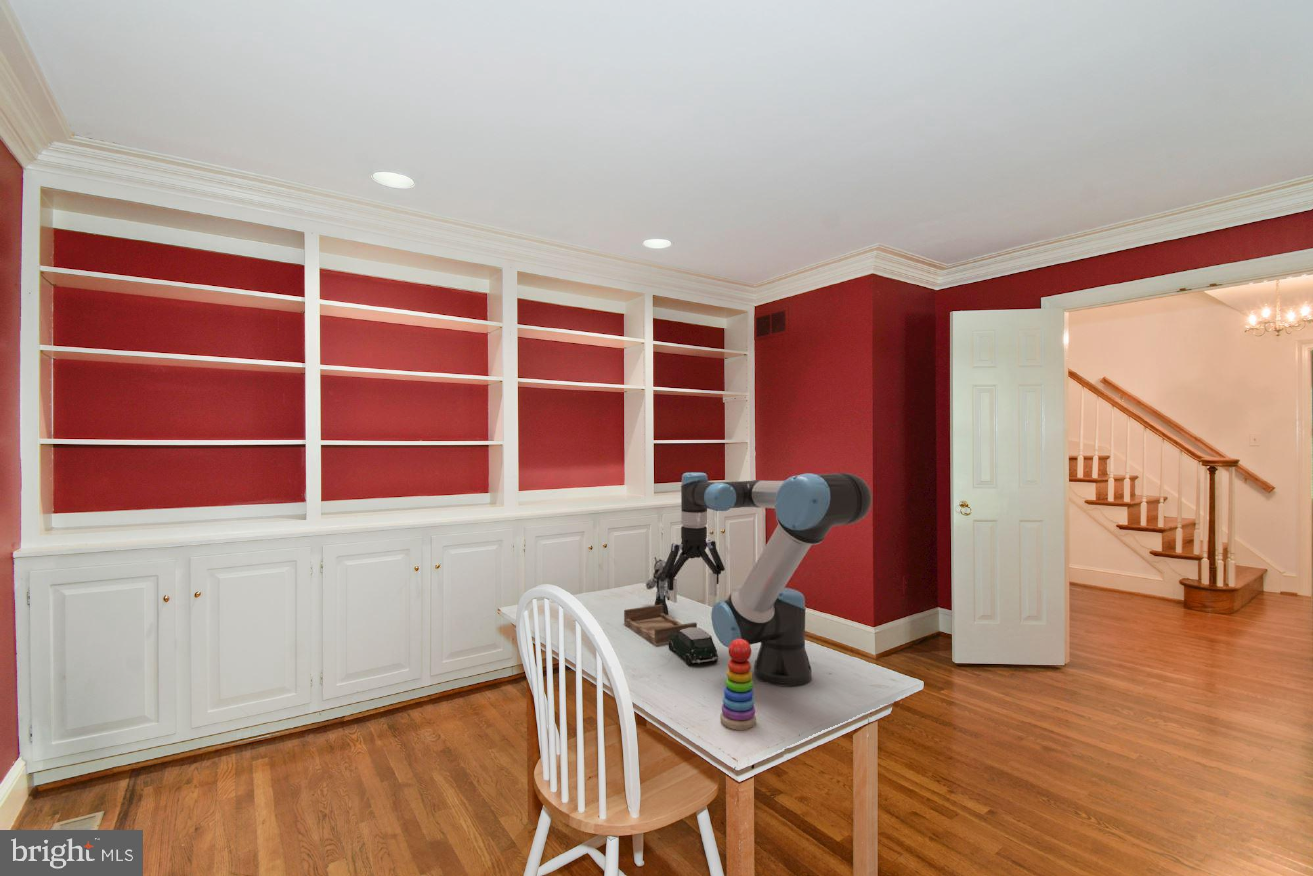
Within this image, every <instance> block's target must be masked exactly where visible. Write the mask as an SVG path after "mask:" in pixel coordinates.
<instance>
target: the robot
mask: <svg viewBox="0 0 1313 876" xmlns="http://www.w3.org/2000/svg"><path fill="white" fill-rule="evenodd" d="M654 562H655V563H654V565H653V570H654V573H653V577H651V578H650V579H648V581H647V582H646V585H645V587H646V589H647V590H652V589H654V588H655V587H656V594H655V595H656V596H655V601H654V605H661V604H662V605H663V613H664V614H665V615H667V616H669V608H668V605H667V601H668V602H669V601H670V590H668V588H667V578H665V577H663V576H661V573H662V571H663V568H664V566H665V564H666V561H665V560H663V559H661V558H659V560H657V557H656V556H654Z"/></svg>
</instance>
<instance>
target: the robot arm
mask: <svg viewBox="0 0 1313 876" xmlns="http://www.w3.org/2000/svg"><path fill="white" fill-rule="evenodd" d="M680 491H681V493H680V494H681V495H680V496H681V497H680V498H681V499H680V501H681V503H680V505H681V513H680V514H681V515H680V517H681V518H680V519H681V520H680V521H681V522H680V523H681V525H682V526H681V527H680V539H681V543H680V544H679V543H674V542H673V543H672V544H671V547H670V553H669V554H668V557H667V559H666V561H665V562H666V564H665V566H664V568H663V571H662V573H661V576H663V577H665V578H667V588H668V590H670V600H669V601H670V602H671V603H672V602H673V603H674V604H675V603H677V602H678V601H677V600H678V598H677V594H678V593H677V592H678V591H677V589H678V587H677V583H678V581H677V578H676V576H677V575H678V574H679V573H680V571H681V569H682V568H683V567H684V565H685V564H686V562H687V561H688V560H689V559H695V558H697V559H698V558H699V559H700V558H701V559H702V561H704V563H705V564H706V565H707V567H708V568H709V570H711V572H709V588H708V589H709V595H710V596H712V597H714V598H715V597H717V595H718V594H717V592H718V591H717V589H718V587H717V585H719V582H720V581H719V579H720V577H719V576H720V575H721V574H722V572H724V571H725V570H726V569H725V565H724V563H723V561H722V558H721V556H720V554H719V552H718V549H717V543H716V541H715V540H711V539H708V541H707V537H708V535H707V533H708V528H707V524H708V509H709V510H712V511H715V512H727V511H729V510H730V509H740V508H759V509H761V508H764V509H765V508H766V509H774V510H775V515H776V521H777V526H776V528H775V529H774V531H773V533H772V535H771V536H770V538H769V539H768V541H767V543H766V545H765V546H764V548H763V550H762V552H761V554H760V556H759V557H758V559H757V560H756V562H755V564H754V565H753V567H752V569H751V571H750V572H749V574H748V576H747V578H746V579H745V581H744V583H742V584H739V585H737V586H736V587H734V588H733V589H732V591H731V593H730V594H729V596H728V597H727V599H724V600H719V601H717V602H715V603H714V604H713V605H712V609H711V615H710V616H711V618H710V619H711V625H712V627H713V631H714V634H715V636H716V639H717V640H718V641H719V643H721V644H722V646H724V647H725V648H726V647H727V648H728V649H729V645H730V643H731V642H732V641H733V640H735V639H743V640H745V641H747V642H748V643H749V645H750V646H751V645H756V644H759V643H760V646H759V649H758V652H757V655H756V659H755V661H754V665H753V675H754V677H756V678H757V679H758V680H760V681H762V682H764V683H767V684H768V685H769V684H770V685H775V686H781V687H798V686H802V685H805V684H808V683H809V682H810V681H811V680H812V673H813V671H812V667H811V662H810V660H809V657H808V654H807V653H808V652H807V650H806V610H807V608H806V602H805V601H806V599H805V595H804V594H803V593H802V592H800V591H799V590H796V589H793V588H790V587H786V586H787V584H788V582H789V581H790V579H791V578H792V576H793V575H794V573H795V571H796V570H797V568H798V567H799V565H800V563H801V562H802V561H803V559H804V558H805V556H806V555H807V553H808V551H809V550H810V548H811V546H812V545H813V546H815V545H819V544H821V543H822V542H823V541H824V540H825V538H826V536H827V535H828V533H829V532H830V530H831V529H832V528H833V527H839V526H846V525H852V524H856V523H858V522H859V521H861V520H863V519H864V518H865V517H866V516H867V515H868V513H870V512H869V511H870V510H871V508H872V503H873V496H872V491H871V489H870V487H869V484H868V483H867V482H866V481H865V480H864V479H863V478H861V476H858V475H856V474H853V473H848V472H838V473H837V472H836V473H835V472H834V473H819V474H816V473H802V474H798V475H792V476H790V477H788V478H787V479H785V480H760V479H755V480H753V479H752V480H742V481H739V480H738V481H737V480H736V481H709V480H708V474H707V473H704V472H695V471H694V472H693V471H692V472H684V473H683V474H681V485H680ZM707 548H708V551H709V553H710V555H711V558H712V559H711V558H710V555H709V554H708V552H706V549H707ZM679 552H680V553H679Z"/></svg>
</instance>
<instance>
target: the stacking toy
mask: <svg viewBox="0 0 1313 876" xmlns="http://www.w3.org/2000/svg"><path fill="white" fill-rule="evenodd" d="M728 656H729V657H730V660H728V662H727V666H728V670H727V672H726V675H727V678H726V679H725V687H724V688H723V694H724V695H723V696H722V705H721V713H720V718H719V719H720V721H721V723H722V725H724V726H725V727H727V728H730V729H732V730H738V731H739V730H740V731H742V730H743V731H744V730H748V729H750V728H752V727H754V726H755V724H756V723H757V716H756V706H755V699H754V697H753V696H754V690H753V687H754V684H753V683H754V682H753V680H752V677H753V673H752V671H751V668H752V664H751V663H750V661H749V659H750V657H751V656H752V647H751V645H749V643H748V642H747V641H745V640H743V639H735V640H733V641H732V642H731V643H730V645H729V648H728Z"/></svg>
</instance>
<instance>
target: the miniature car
mask: <svg viewBox="0 0 1313 876" xmlns="http://www.w3.org/2000/svg"><path fill="white" fill-rule="evenodd" d="M668 648H669V651H671V652H675V651H676V652H677V653H678V655H680V656H682V657H683V658H684V659H685V660H684V661H685V664H686V665H687V666H688V667H691V666H693V665H694V664H695V663H698V664H700V663H703V662H710V661H711V663H716V662H718V659H719V656H718V650H717V647H716V646H715V642H714V640H713V636H712V635H711V634H710V633H708V631H706V630H704V629H703V628H701V627H697V628H696V627H693V628H684V629H682V630H680V631H679V633H675V634H674V633H671V634H670V639H669V644H668Z"/></svg>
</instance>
